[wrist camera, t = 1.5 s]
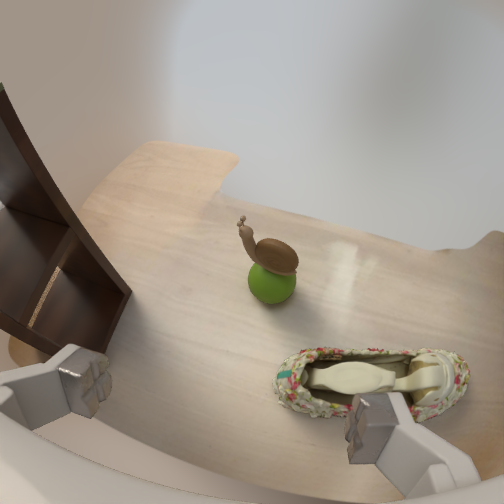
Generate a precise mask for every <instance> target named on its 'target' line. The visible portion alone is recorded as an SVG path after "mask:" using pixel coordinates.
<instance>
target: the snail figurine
mask: <svg viewBox="0 0 504 504" xmlns="http://www.w3.org/2000/svg"><path fill="white" fill-rule="evenodd" d="M240 220H241V221H242V222H241V221H238V223H237V226H238V227H239V235H240V237H241V238H242V241H243V245H244V247H245V250H246V252H247V253H248V255H249V256H250V258H251V259H252V260H253V261H254V262H255V263H254V265H253V266H252V267H251V269H250V272H249V275H248V284H249V288H250V290H251V292H252V293H253V295H254V296H255V297H256V298H257V299H259V300H260V301H262V302H265V303H269V304H275V303H280V302H282V301H284V300H286V299H287V298H288V297H289V296H290V295H291V294H292V292H293V291H294V289H295V286H296V273H297V272H296V270H295V269H296V268H297V266H298V263H299V260H298V256H297V254H296V253H295V251H294V250H293V249H292V248H291V247H290V246H288V245H287V244H285V243H284V242H282V241H279V240H276V239H270V238H267V239H263V240H261V241H259V242H258V243H257V245H256V243H255V241H254V238H253V230H252V228H251V227H249V226H244V224H243V222H244V221H245V220H246V217H245V216H241V218H240ZM242 225H243V226H242ZM241 226H242V227H241Z"/></svg>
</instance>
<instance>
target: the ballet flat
mask: <svg viewBox="0 0 504 504" xmlns="http://www.w3.org/2000/svg"><path fill="white" fill-rule="evenodd" d="M383 350H384V349H382V350H381V351H379V350H378V348H377V349H374V348H372V349H369V348H368V349H367V350H361V351H358V350H354V349H352V350H351V349H347V348H346V350H340V349H337V348H330V347H329V348H326V347H324V348H319V347H318V348H317V349H313V350H311V349H305V350H301V351H300V353H299V354H298V353H297V354H296V355H292V356H290V357H289V358H288V359H286V360H284V361H285V362H284V363H283V364H282V366H281V367H280V369H279V371H278V372H277V376H276V377H275V378H274V379H273V383H272V384H273V389H274V390H275V394H279V396H280V397H279V401H278V403H279V404H282V405H283V407H287V408H289V409H292V410H294V411H296V412H297V411H298V412H303V413H310V416H311V417H312V418H316V417H318V416H320V415H321V416H322V417H323V415H324V417H325V418H331V415H332V414H333V415H334V416H335V415H337V417H338V416H341V417H343V416H347V414H348V412H350V411H351V410H352V409H353V406H352V400H353V397H354V396H355V394H356V393H387V392H400V393H401V394H402V395H403V397H404V400H405V402H406V404H407V406H408V408H409V410H410V413H411V415H412V417H413V419H414V422H415V424H416V421H417V422H420V423H421V422H423V421H425V420H426V419H430V418H431V417H434V416H435V415H440V414H442V412H444V411H445V410H447V409H448V408H449V407H451V406H454V405H455V403H457V402H458V400H459V399H460V398H461V397H463V396H464V393H465V391H466V390H467V386H468V381H469V378H470V370H469V369H468V365H467V363H466V361H465V362H464V359H463V358H462V357H460V356H459V355H457V354H456V353H454V352H455V351H454V352H453V353H450V352H448V351H445V350H438V349H437V350H434V349H431V348H421V349H420V350H417V351H414V350H405V349H404V350H403V351H393V350H390V351H386V352H385V351H383ZM321 416H320V417H321Z"/></svg>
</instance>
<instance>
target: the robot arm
mask: <svg viewBox="0 0 504 504" xmlns="http://www.w3.org/2000/svg"><path fill="white" fill-rule="evenodd" d="M108 366H109V362H108V357H107V356H106V355H105V354H102V353H99V352H95V351H92V350H89V349H86V348H83V347H80V346H77V345H74V344H67V345H66V346H65V347H64V348H63V349H61V350H60V351H59V352H58V353H57V354H55V355H54V356H53V357H52V358H50V359H49V360H48V361H47V362H46V363H44V364H43V363H38V364H34V365H29V366H25V367H21V368H16V369H12V370H7V371H3V372H0V504H259V503H249V502H243V501H235V500H229V499H222V498H216V497H211V496H205V495H201V494H196V493H191V492H187V491H183V490H179V489H174V488H171V487H167V486H163V485H160V484H156V483H153V482H149V481H146V480H143V479H140V478H137V477H133V476H131V475H128V474H125V473H122V472H119V471H117V470H114V469H111V468H109V467H106V466H104V465H101V464H98V463H96V462H94V461H91V460H89V459H87V458H84V457H82V456H80V455H78V454H75V453H73V452H71V451H69V450H67V449H65V448H62V447H61V446H59V445H57V444H55V443H52V442H50V441H49V440H47V439H45V438H43V437H41V436H40V435H38V434H36V433H34V432H32V430H34V429H36V428H39V427H41V426H43V425H45V424H47V423H50V422H51V421H54V420H56V419H58V418H60V417H63V416H64V415H67V414H69V413H70V412H74V413H76V414H79V415H81V416H84V417H87V418H90V419H91V418H92V417H93V415H94V414H95V413H96V412H97V410H98V409H99V408H100V406H99V402H101V401H104V400H106V399H107V397H108V396H109V394H110V391H111V388H112V378H111V375H110V373H109V372H108V371H107V368H108ZM352 406H353V409H352V410H351V411H350V412H348V414H347V417H346V421H345V427H344V434H345V439H346V440H347V441H348V442H349V446H348V448H347V452H348V458H349V464H375V466H376V467H377V468H378V469H379V470H380V471H381V472H382V473H383V474H384V476H385V477H386V478H387V479H388V480H389V481H390V482H391V483H392V484H393V485H394V486H395V487H396V488H397V489H398V490H399V491H400V492H401V493H402V495H403V496H404V497H405V499H404V500H400V501H393V502H385V503H376V504H504V474H502V475H499V476H496V477H493V478H490V479H487V480H484V481H482V480H481V478H480V475H479V473H478V471H477V469H476V467H475V465H474V463H473V461H472V459H471V457H470V456H469V455H467V454H466V453H464V452H463V451H461V450H459V449H458V448H456V447H455V446H453V445H452V444H450V443H449V442H447V441H445V440H444V439H442V438H441V437H439V436H438V435H436V434H435V433H433V432H432V431H430V430H429V429H427V428H426V427H424V426H423V425H421V424H420V423H417V424H415V422H414V419H413V417H412V415H411V413H410V410H409V408H408V406H407V404H406V402H405V400H404V397H403V395H402V394H401V393H400V392H387V393H356V394H355V396H354V397H353V400H352Z"/></svg>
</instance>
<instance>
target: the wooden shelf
mask: <svg viewBox="0 0 504 504" xmlns="http://www.w3.org/2000/svg"><path fill="white" fill-rule="evenodd" d="M0 201H1V202H2V203H3V205H4V206H5V207H4V208H3V209H2V211H1V212H0V329H2V330H3V331H5V332H7V333H9V334H10V335H12V336H14V337H16V338H18V339H19V340H21V341H23V342H25V343H27V344H29V345H31V346H33V347H35V348H37V349H39V350H41V351H43V352H45V353H47V354H49V355H51V356H54V355H55V354H57V353H58V352H59V351H60V350H61V349H63V348H64V347H65V346H66V345H67V344H74V345H77V346H80V347H83V348H86V349H89V350H92V351H95V352H99V353H102V354H104V353H105V350H106V348H107V346H108V343H109V341H110V339H111V336H112V334H113V332H114V329H115V327H116V325H117V323H118V320H119V318H120V316H121V314H122V312H123V309H124V307H125V305H126V303H127V301H128V299H129V296H130V294H131V292H132V290H131V289H130V288H129V286H128V285H127V284H126V283H125V281H124V280H123V279H122V278H121V276H120V275H119V274H118V272H117V271H116V270H115V269H114V267H113V266H112V265H111V263H110V262H109V261H108V259H107V258H106V257H105V255H104V254H103V253H102V251H101V250H100V249H99V247H98V246H97V244H96V243H95V242H94V240H93V239H92V238H91V236H90V235H89V233H88V232H87V230H86V229H85V228H84V226H83V225H82V223H81V222H80V220H79V219H78V217H77V216H76V214H75V213H74V212H73V210H72V209H71V207H70V206H69V204H68V202H67V201H66V199H65V198H64V197H63V195H62V193H61V192H60V190H59V188H58V187H57V185H56V184H55V182H54V181H53V179H52V177H51V176H50V174H49V172H48V171H47V169H46V167H45V166H44V164H43V162H42V160H41V159H40V157H39V155H38V153H37V152H36V150H35V148H34V146H33V145H32V143H31V141H30V139H29V137H28V135H27V134H26V132H25V130H24V128H23V126H22V124H21V122H20V120H19V118H18V117H17V114H16V112H15V110H14V109H13V106H12V104H11V102H10V100H9V98H8V96H7V94H6V92H5V90H4V87H3V84H2V82H0ZM57 266H58V267H59V268H60V269H61V270H60V272H59V273H58V275H57V277H56V279H55V281H54V283H53V285H52V287H51V289H50V291H49V293H48V295H47V297H46V299H45V301H44V303H43V305H42V307H41V309H40V311H39V313H38V315H37V318H36V320H35V322H34V324H33V326H32V328H31V327H29V326H28V323H29V321H30V319H31V317H32V315H33V312H34V310H35V308H36V306H37V304H38V302H39V300H40V298H41V296H42V294H43V292H44V290H45V288H46V286H47V284H48V282H49V280H50V278H51V276H52V275H53V273H54V271H55V269H56V267H57Z"/></svg>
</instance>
